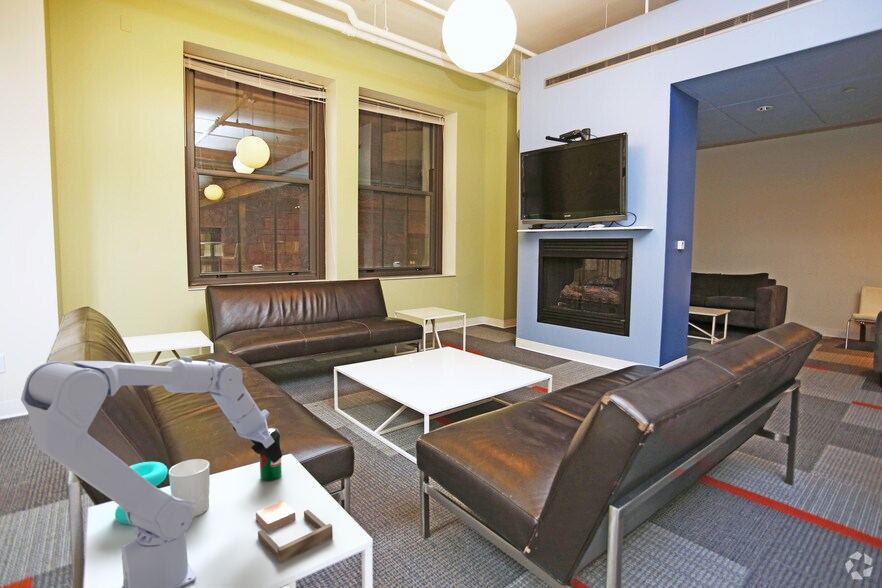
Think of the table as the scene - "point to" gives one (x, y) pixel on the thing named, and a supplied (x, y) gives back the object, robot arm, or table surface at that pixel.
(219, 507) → the table surface
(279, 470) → the soda can
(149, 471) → the donuts
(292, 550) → the wooden u-shaped frame
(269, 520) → the peach block
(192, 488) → the white cup
